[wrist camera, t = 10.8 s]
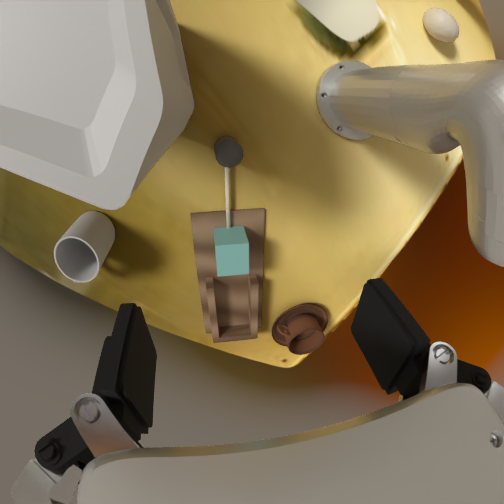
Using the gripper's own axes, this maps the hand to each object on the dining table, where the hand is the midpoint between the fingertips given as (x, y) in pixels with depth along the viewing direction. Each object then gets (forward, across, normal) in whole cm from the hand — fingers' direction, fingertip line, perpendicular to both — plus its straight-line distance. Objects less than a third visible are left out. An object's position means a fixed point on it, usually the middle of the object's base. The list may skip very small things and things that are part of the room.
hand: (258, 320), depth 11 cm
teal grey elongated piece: (+30, -1, +6) cm, 30 cm away
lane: (+30, -1, +20) cm, 36 cm away
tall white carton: (+31, +10, -15) cm, 35 cm away
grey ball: (+31, -37, -29) cm, 56 cm away
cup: (+31, +21, +10) cm, 38 cm away
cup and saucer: (+31, -14, +33) cm, 47 cm away
